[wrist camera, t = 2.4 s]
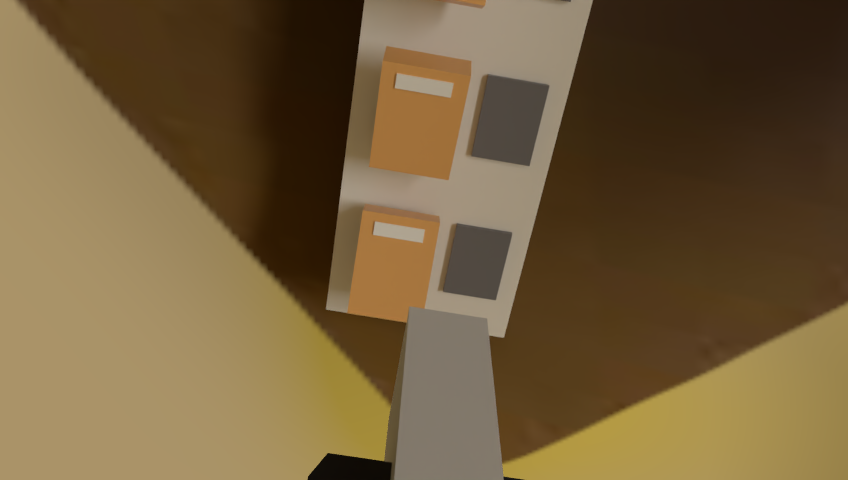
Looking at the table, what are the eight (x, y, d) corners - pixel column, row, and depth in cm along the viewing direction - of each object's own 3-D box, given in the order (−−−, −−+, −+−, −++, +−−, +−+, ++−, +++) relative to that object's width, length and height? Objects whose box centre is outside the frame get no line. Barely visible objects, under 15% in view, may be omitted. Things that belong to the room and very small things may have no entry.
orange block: (386, 46, 27) (382, 61, 26) (471, 61, 28) (471, 77, 26) (373, 149, 30) (368, 167, 29) (449, 162, 30) (448, 181, 29)
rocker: (365, 203, 31) (362, 210, 30) (439, 216, 32) (440, 223, 30) (350, 302, 33) (346, 313, 31) (421, 313, 33) (421, 325, 31)
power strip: (423, -399, 26) (419, -456, 21) (660, -349, 26) (701, -396, 22) (337, 270, 38) (324, 315, 34) (498, 296, 38) (504, 344, 34)
